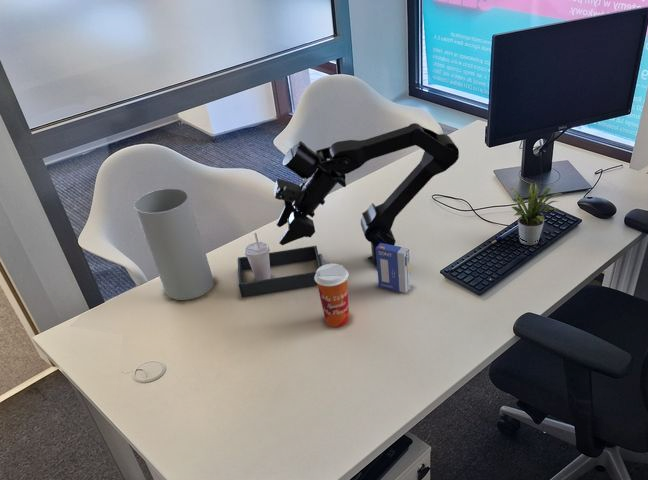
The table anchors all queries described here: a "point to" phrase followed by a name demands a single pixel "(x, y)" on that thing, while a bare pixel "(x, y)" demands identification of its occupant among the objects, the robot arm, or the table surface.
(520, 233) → the house plant
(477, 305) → the table surface
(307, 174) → the robot arm
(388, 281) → the walkman
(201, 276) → the cylinder vase
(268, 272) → the smoothie
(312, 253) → the rectangular tray
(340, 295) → the paper cup
